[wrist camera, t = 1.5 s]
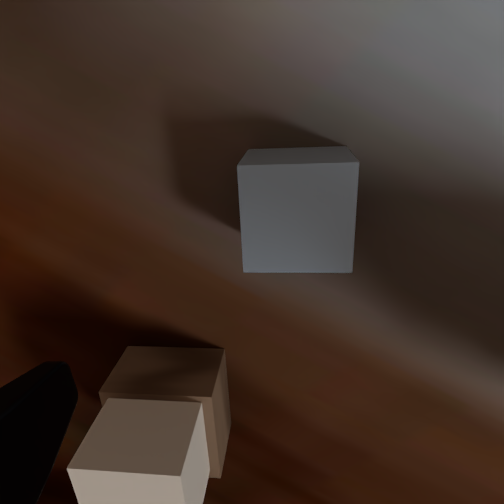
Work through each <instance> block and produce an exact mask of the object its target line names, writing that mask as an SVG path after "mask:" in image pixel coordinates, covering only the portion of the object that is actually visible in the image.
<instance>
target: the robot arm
mask: <svg viewBox="0 0 504 504" xmlns="http://www.w3.org/2000/svg"><path fill="white" fill-rule="evenodd" d="M77 400H78V391H77V388H76V385H75V382H74V379H73V376H72V373H71V370H70V367H69V365H68V364H67V363H66V362H63V361H48V362H44V363H42V364H40V365H38V366H37V367H35V368H33V369H32V370H30V371H28V372H27V373H25V374H23V375H21V376H20V377H18V378H16V379H15V380H13V381H11V382H10V383H8V384H6V385H4V386H3V387H1V388H0V504H36V503H37V501H38V499H39V497H40V495H41V493H42V491H43V488H44V486H45V484H46V482H47V480H48V477H49V475H50V473H51V470H52V468H53V465H54V463H55V460H56V457H57V455H58V452H59V449H60V447H61V444H62V441H63V439H64V436H65V434H66V431H67V428H68V426H69V423H70V420H71V418H72V415H73V412H74V410H75V407H76V404H77Z"/></svg>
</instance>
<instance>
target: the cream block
mask: <svg viewBox="0 0 504 504" xmlns="http://www.w3.org/2000/svg"><path fill="white" fill-rule="evenodd" d="M67 471H68V474H69V477H70V480H71V483H72V485H73V488H74V491H75V494H76V497H77V500H78V503H79V504H203V500H204V495H205V491H206V486H207V482H208V477H209V472H210V466H209V457H208V449H207V441H206V433H205V425H204V416H203V408H202V403H201V402H180V401H160V400H139V399H119V398H108V399H107V401H106V402H105V404H104V406H103V407H102V409H101V411H100V412H99V414H98V416H97V418H96V419H95V421H94V423H93V424H92V426H91V428H90V429H89V431H88V433H87V435H86V436H85V438H84V440H83V441H82V443H81V445H80V446H79V448H78V450H77V452H76V453H75V455H74V457H73V458H72V460H71V462H70V463H69V465H68V467H67Z"/></svg>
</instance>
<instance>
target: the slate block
mask: <svg viewBox="0 0 504 504" xmlns="http://www.w3.org/2000/svg"><path fill="white" fill-rule="evenodd" d="M237 176H238V192H239V208H240V224H241V240H242V256H243V272H257V273H352V270H353V254H354V239H355V223H356V207H357V192H358V176H359V161H358V160H357V159H356V157H355V156H354V155H353V154H352V152H351V151H350V150H349V149H348V147H347V146H330V147H299V148H269V149H248V150H247V152H246V153H245V155H244V156H243V158H242V159H241V160H240V162H239V163H238V165H237Z"/></svg>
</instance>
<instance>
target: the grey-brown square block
mask: <svg viewBox="0 0 504 504" xmlns="http://www.w3.org/2000/svg"><path fill="white" fill-rule="evenodd" d="M99 396H100V400H101V403H102V407H103V406H104V404H105V402H106V401H107V399H108V398H119V399H139V400H160V401H180V402H201V403H202V408H203V416H204V425H205V433H206V441H207V449H208V457H209V466H210V472H209V477H210V478H221V474H222V469H223V463H224V458H225V453H226V448H227V442H228V437H229V432H230V426H231V416H230V405H229V393H228V382H227V371H226V359H225V349H217V348H183V347H150V346H128V347H127V348H126V350H125V351H124V353H123V354H122V356H121V358H120V359H119V361H118V362H117V364H116V365H115V367H114V369H113V370H112V372H111V373H110V375H109V376H108V378H107V380H106V381H105V383H104V384H103V386H102V387H101V389H100V391H99Z"/></svg>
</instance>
